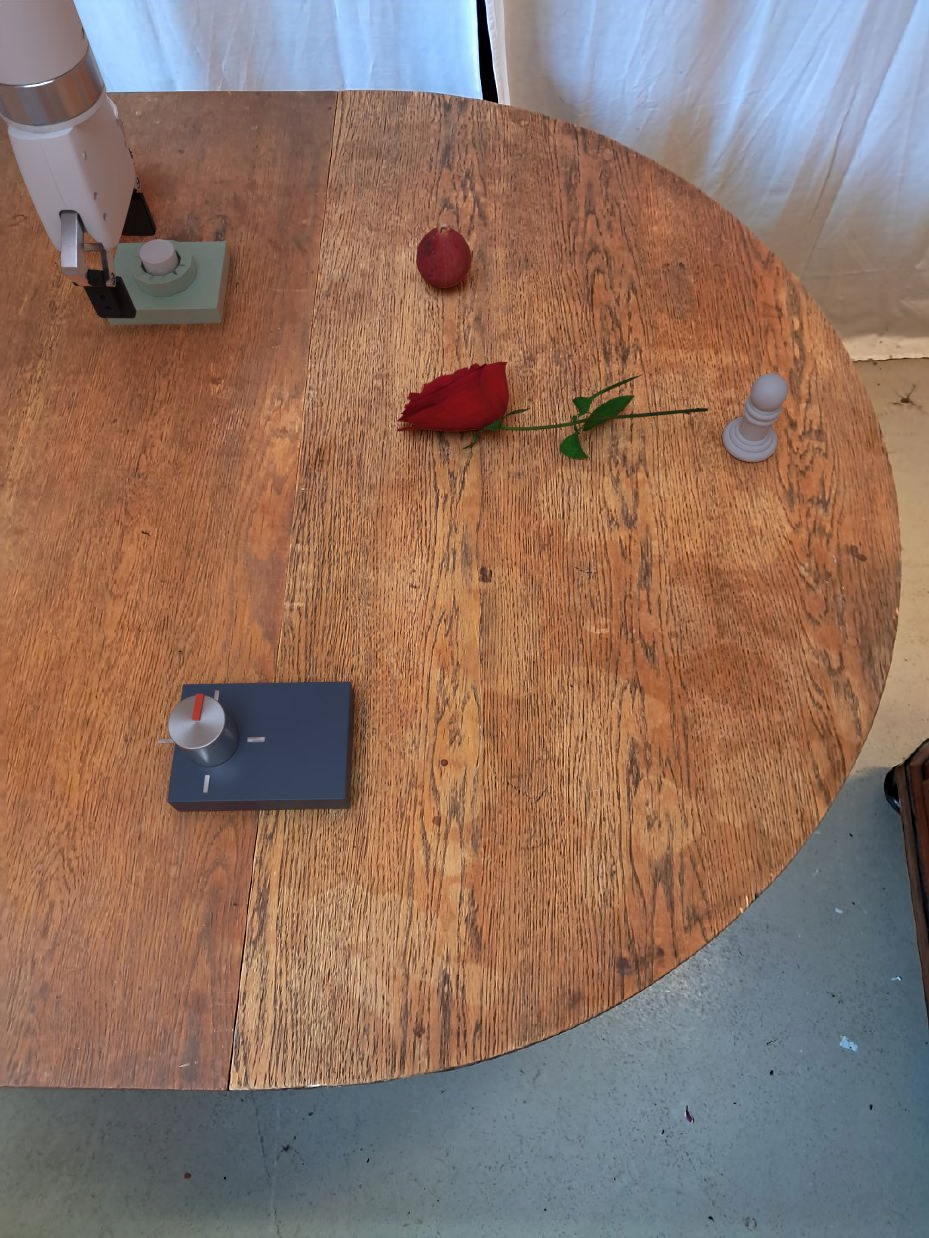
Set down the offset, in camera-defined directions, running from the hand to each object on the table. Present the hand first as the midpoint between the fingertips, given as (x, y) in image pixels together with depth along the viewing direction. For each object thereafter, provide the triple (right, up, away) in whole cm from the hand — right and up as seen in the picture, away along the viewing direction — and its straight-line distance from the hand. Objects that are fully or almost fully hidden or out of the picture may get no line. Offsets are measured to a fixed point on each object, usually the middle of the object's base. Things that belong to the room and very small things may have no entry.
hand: (129, 273), depth 77 cm
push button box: (-3, +6, +21) cm, 23 cm away
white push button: (-3, +8, +18) cm, 20 cm away
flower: (+37, -11, +13) cm, 41 cm away
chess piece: (+57, -12, +12) cm, 60 cm away
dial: (+9, -40, -5) cm, 41 cm away
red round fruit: (+27, +7, +21) cm, 35 cm away
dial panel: (+13, -41, -2) cm, 43 cm away
